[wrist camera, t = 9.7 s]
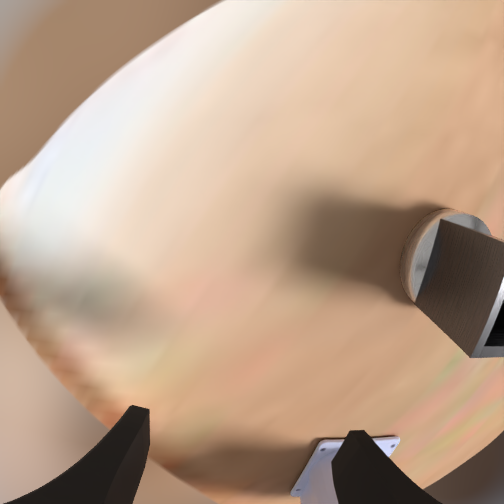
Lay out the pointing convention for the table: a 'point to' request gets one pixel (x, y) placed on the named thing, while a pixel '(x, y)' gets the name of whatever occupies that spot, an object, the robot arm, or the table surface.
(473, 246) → the hollow square tube
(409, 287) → the ratchet
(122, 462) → the robot arm
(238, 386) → the table surface
